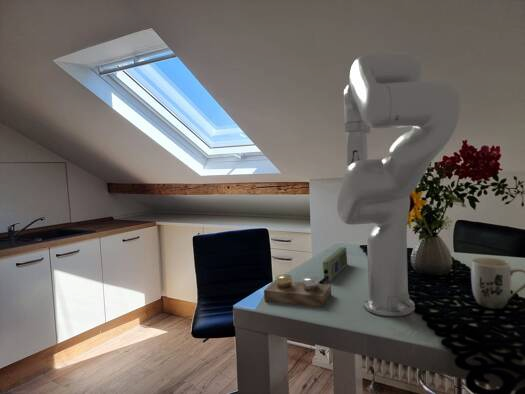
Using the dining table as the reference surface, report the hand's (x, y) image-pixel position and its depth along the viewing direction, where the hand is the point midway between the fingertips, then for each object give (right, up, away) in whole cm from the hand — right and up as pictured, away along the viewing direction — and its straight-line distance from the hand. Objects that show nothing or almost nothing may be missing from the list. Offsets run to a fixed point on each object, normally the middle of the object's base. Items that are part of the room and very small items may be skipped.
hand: (359, 188), depth 114 cm
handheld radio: (-6, -29, +10) cm, 31 cm away
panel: (-20, -32, -10) cm, 39 cm away
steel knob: (-16, -31, -11) cm, 37 cm away
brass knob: (-24, -31, -8) cm, 40 cm away
